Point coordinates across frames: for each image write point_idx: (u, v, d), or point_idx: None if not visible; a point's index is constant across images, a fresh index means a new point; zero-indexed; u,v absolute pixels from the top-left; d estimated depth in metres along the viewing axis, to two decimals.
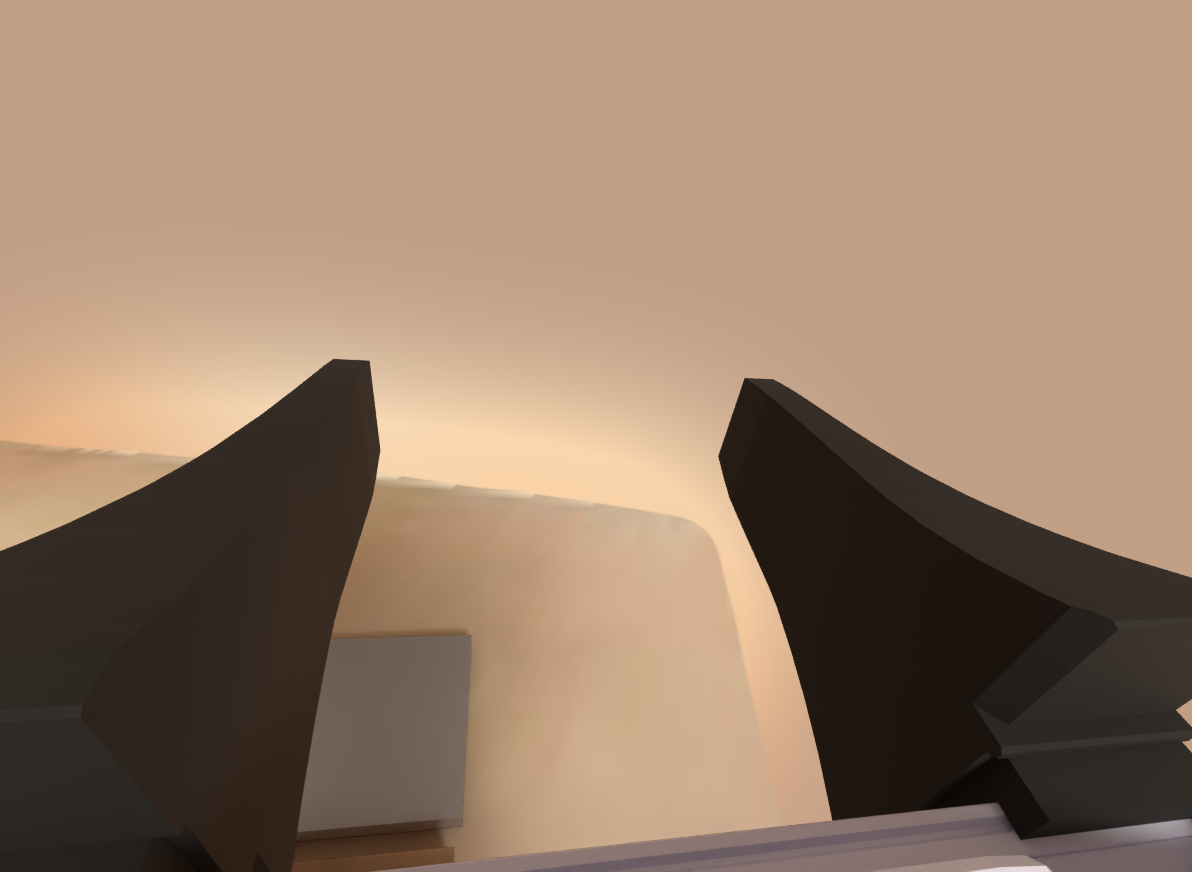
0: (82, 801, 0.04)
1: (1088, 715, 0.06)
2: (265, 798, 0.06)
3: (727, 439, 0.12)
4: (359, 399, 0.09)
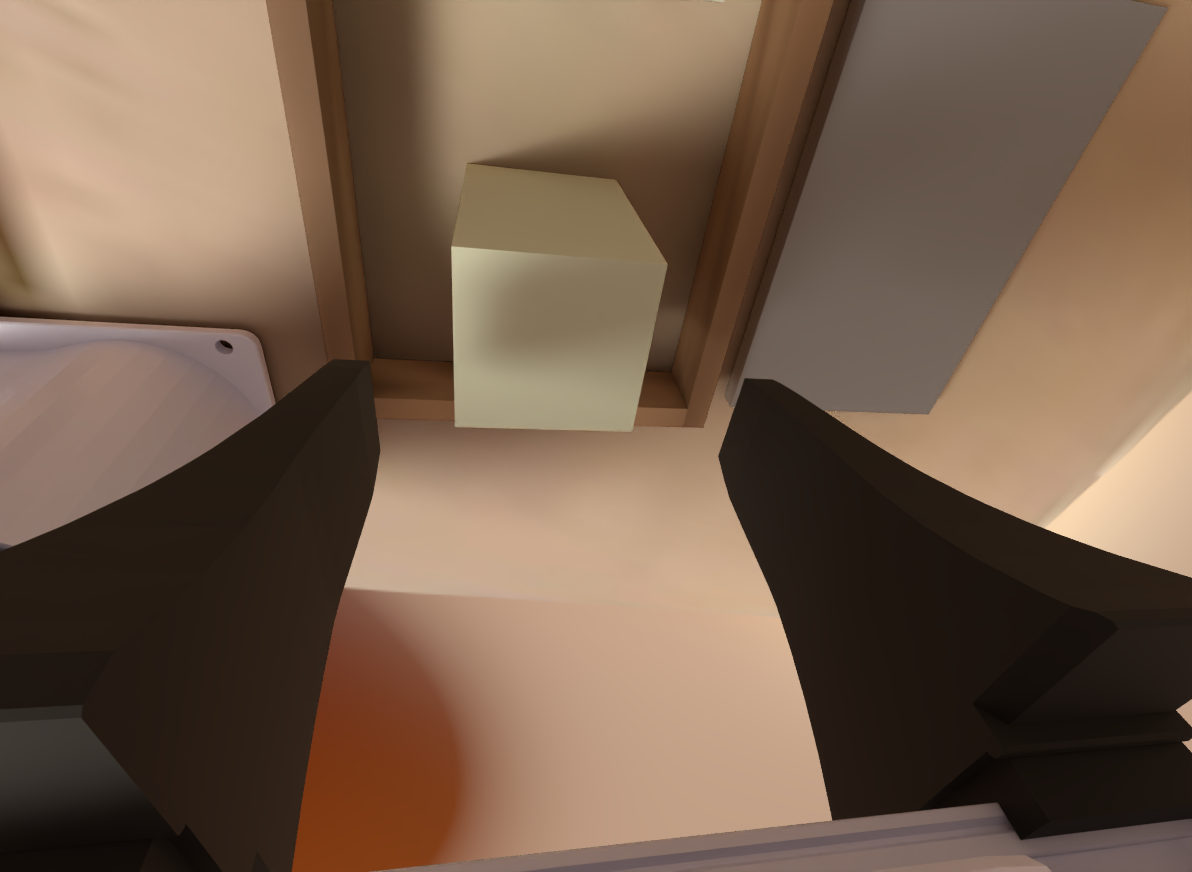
0: (82, 803, 0.04)
1: (1088, 715, 0.06)
2: (265, 798, 0.06)
3: (727, 438, 0.12)
4: (359, 399, 0.09)
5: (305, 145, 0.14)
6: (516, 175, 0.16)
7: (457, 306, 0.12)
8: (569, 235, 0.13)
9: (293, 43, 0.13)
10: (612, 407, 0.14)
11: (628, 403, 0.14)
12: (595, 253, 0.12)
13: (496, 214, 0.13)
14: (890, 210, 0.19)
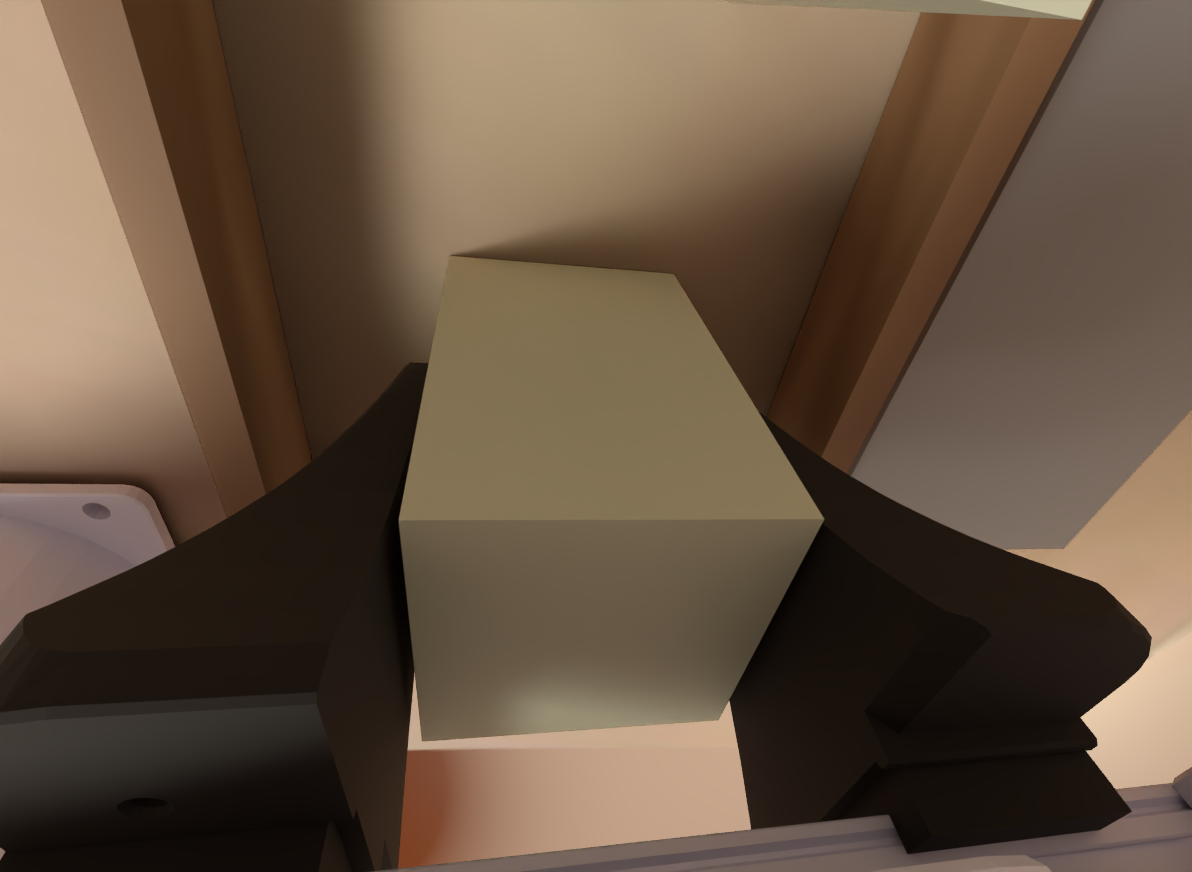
0: (284, 786, 0.04)
1: (983, 723, 0.06)
2: (388, 787, 0.06)
3: None
4: None
5: (161, 259, 0.08)
6: (525, 278, 0.11)
7: (417, 603, 0.06)
8: (627, 441, 0.07)
9: (112, 89, 0.07)
10: (691, 698, 0.08)
11: (718, 691, 0.08)
12: (685, 498, 0.06)
13: (494, 390, 0.07)
14: (1069, 311, 0.13)
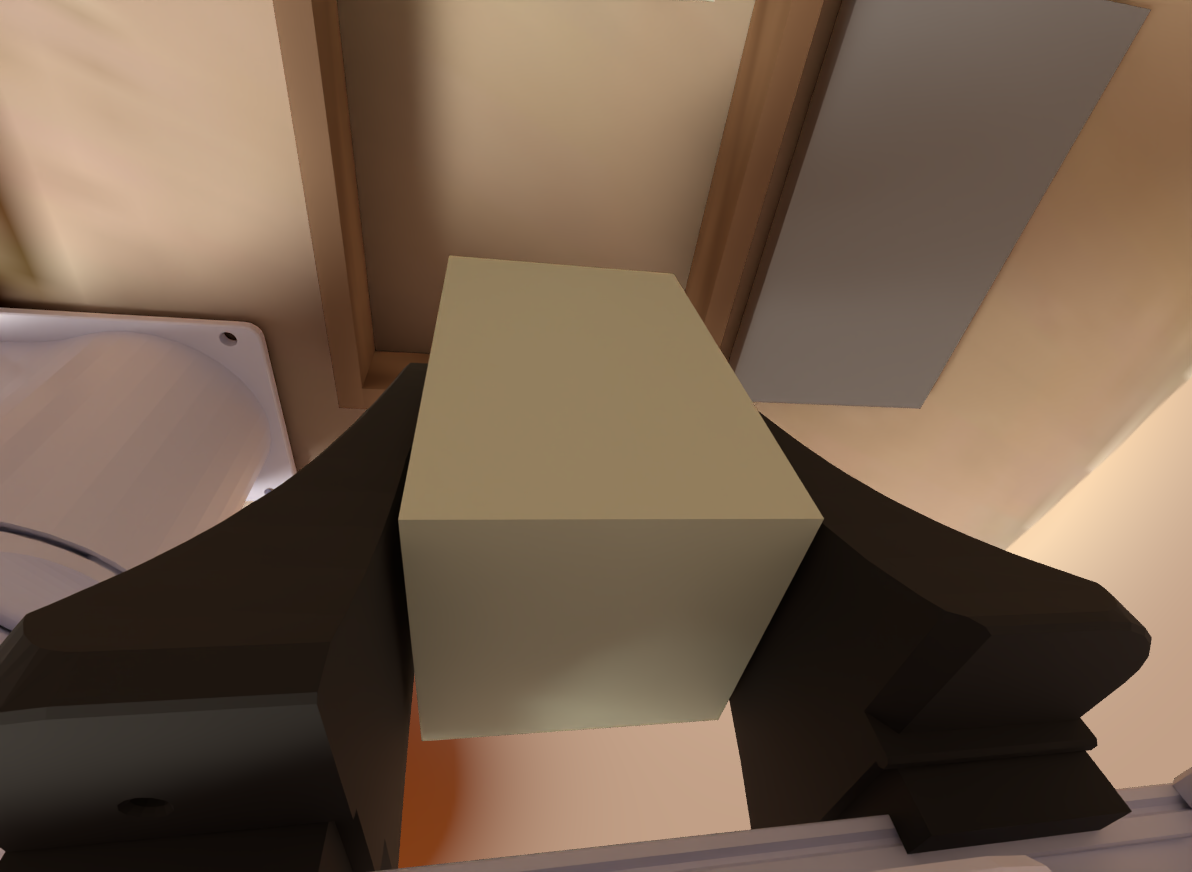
0: (284, 786, 0.04)
1: (984, 723, 0.06)
2: (389, 787, 0.06)
3: None
4: None
5: (309, 140, 0.14)
6: (525, 277, 0.11)
7: (416, 603, 0.06)
8: (627, 440, 0.07)
9: (298, 41, 0.13)
10: (690, 697, 0.08)
11: (717, 691, 0.08)
12: (683, 498, 0.06)
13: (493, 389, 0.07)
14: (881, 206, 0.19)
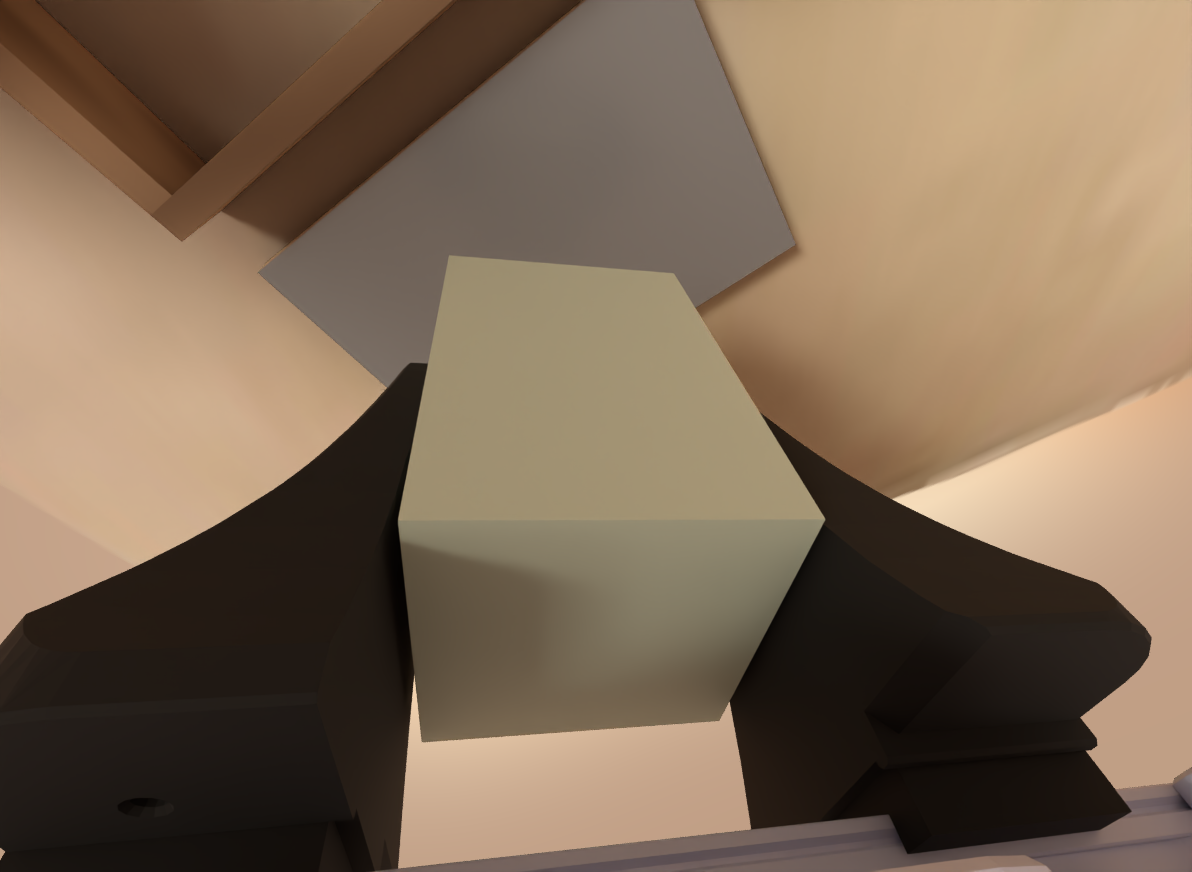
0: (284, 786, 0.04)
1: (983, 723, 0.06)
2: (388, 787, 0.06)
3: None
4: None
5: None
6: (525, 277, 0.11)
7: (416, 604, 0.06)
8: (627, 441, 0.07)
9: None
10: (691, 698, 0.08)
11: (718, 692, 0.08)
12: (684, 500, 0.06)
13: (494, 389, 0.07)
14: (539, 205, 0.17)
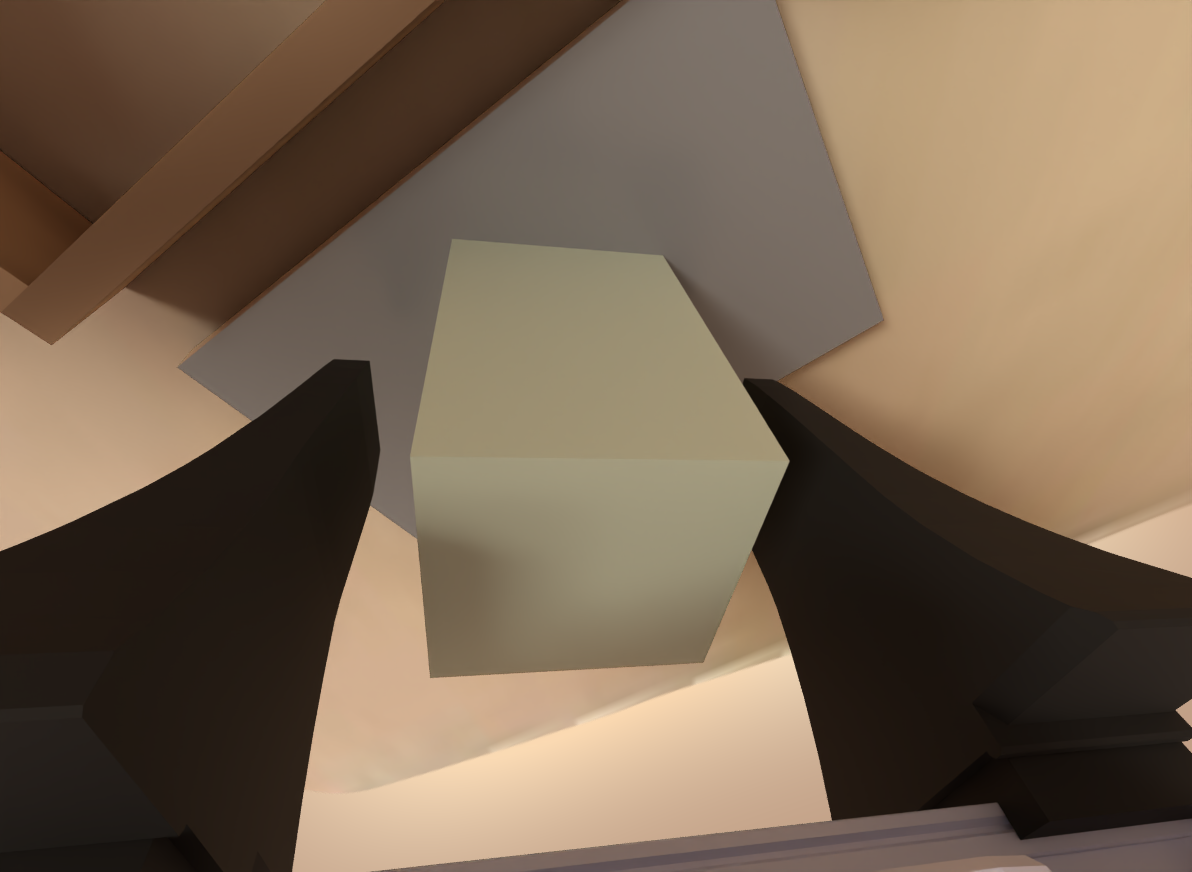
0: (83, 803, 0.04)
1: (1088, 715, 0.06)
2: (266, 797, 0.06)
3: None
4: (359, 399, 0.09)
5: None
6: (523, 258, 0.11)
7: (426, 537, 0.07)
8: (614, 396, 0.08)
9: None
10: (676, 638, 0.09)
11: (701, 632, 0.09)
12: (664, 443, 0.07)
13: (494, 352, 0.08)
14: None
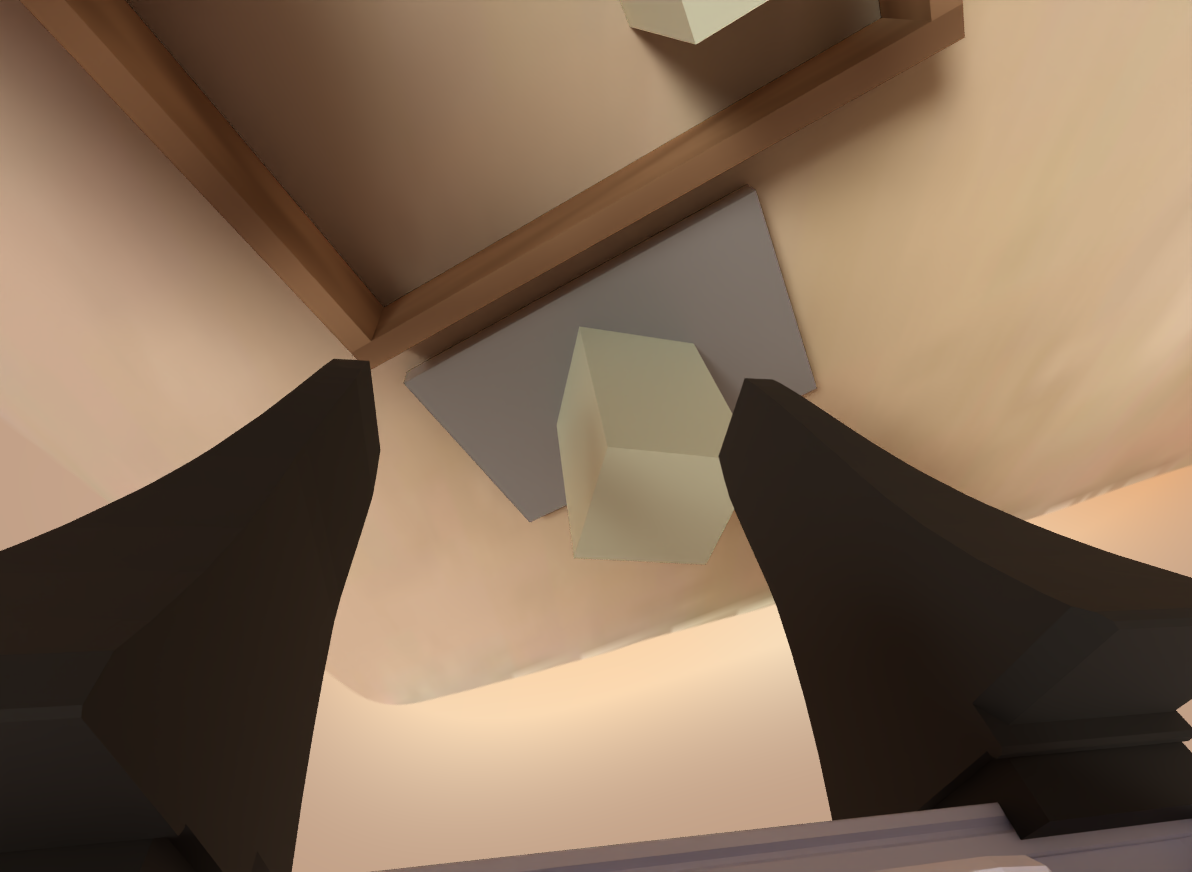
0: (82, 803, 0.04)
1: (1088, 715, 0.06)
2: (265, 798, 0.06)
3: (728, 439, 0.12)
4: (359, 399, 0.09)
5: None
6: (620, 342, 0.20)
7: (600, 482, 0.16)
8: (682, 426, 0.17)
9: None
10: (695, 548, 0.18)
11: (708, 546, 0.18)
12: (706, 450, 0.16)
13: (624, 401, 0.17)
14: None
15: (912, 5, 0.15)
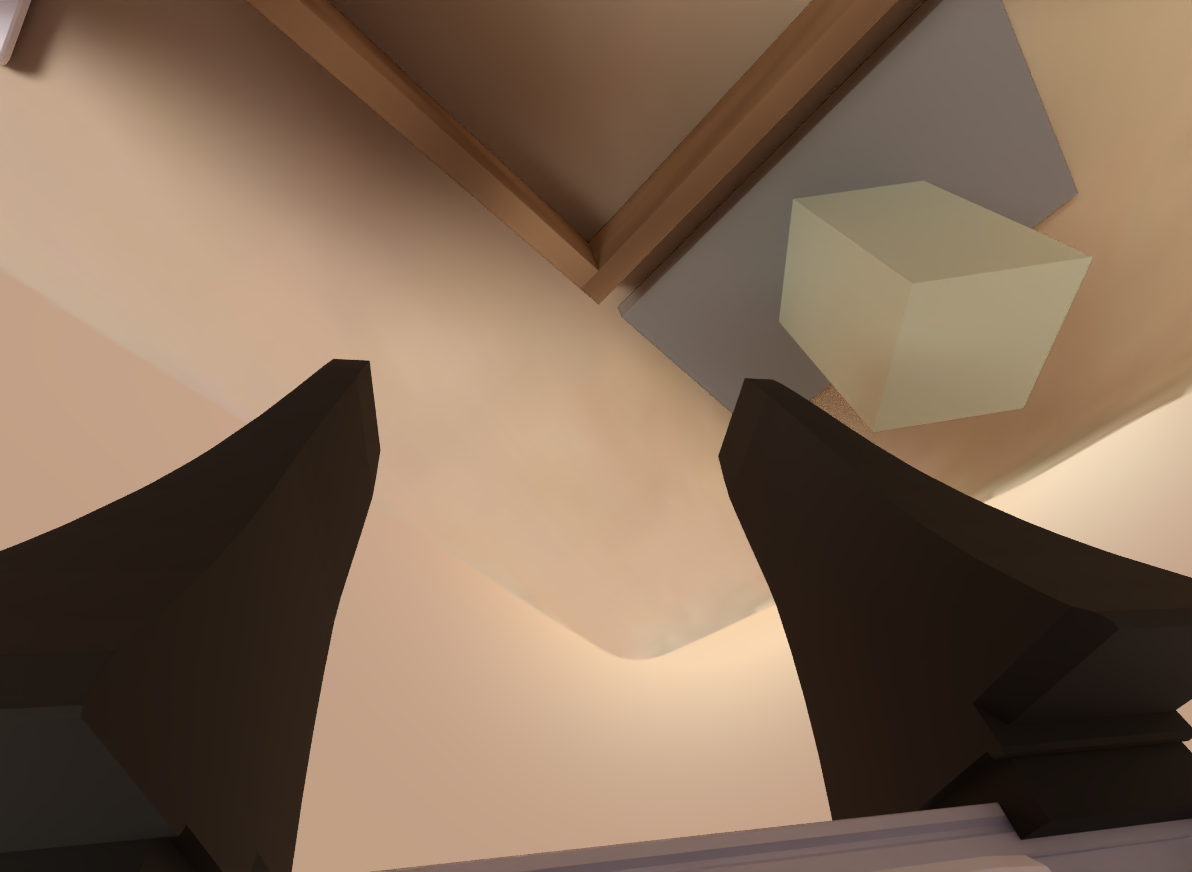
0: (82, 803, 0.04)
1: (1088, 715, 0.06)
2: (265, 798, 0.06)
3: (727, 439, 0.12)
4: (359, 399, 0.09)
5: None
6: (846, 200, 0.18)
7: (903, 331, 0.14)
8: (977, 248, 0.15)
9: None
10: (1011, 390, 0.16)
11: (1026, 384, 0.16)
12: (1022, 260, 0.14)
13: (894, 243, 0.15)
14: None
15: None
